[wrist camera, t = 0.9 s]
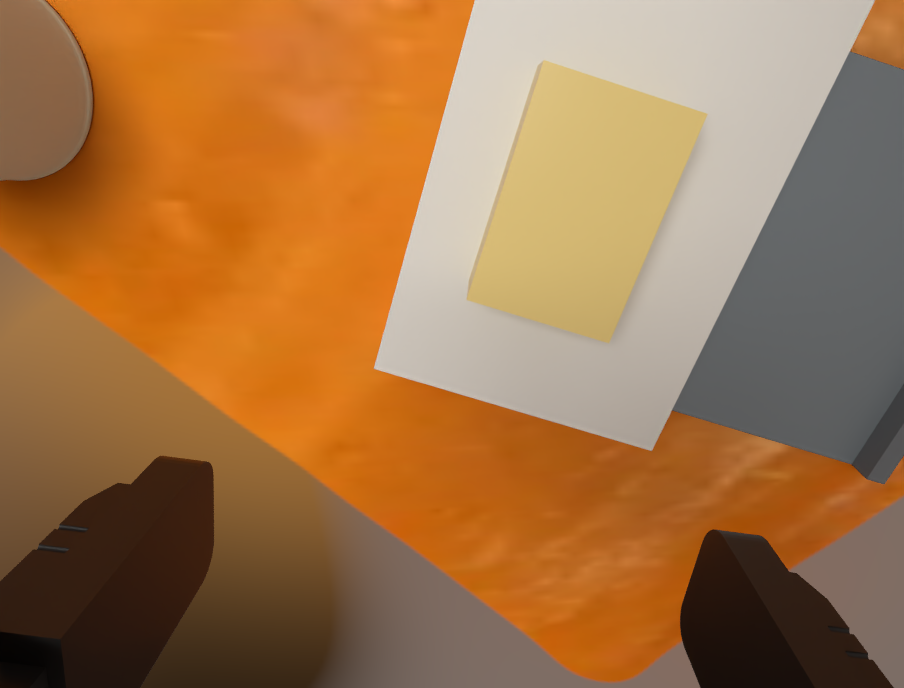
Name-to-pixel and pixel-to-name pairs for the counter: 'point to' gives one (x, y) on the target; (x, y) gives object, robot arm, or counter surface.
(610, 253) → the yellow block
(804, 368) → the tray
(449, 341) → the white flat block
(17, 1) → the can
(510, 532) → the counter surface
